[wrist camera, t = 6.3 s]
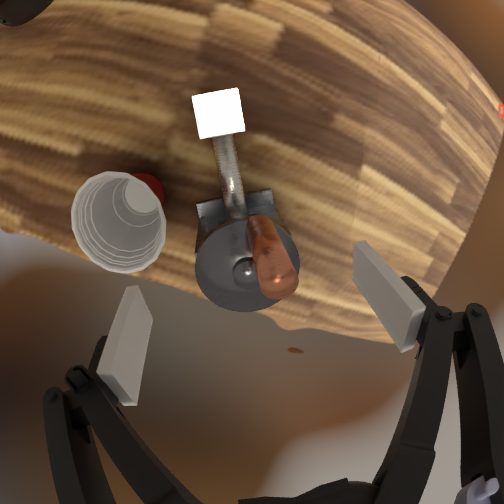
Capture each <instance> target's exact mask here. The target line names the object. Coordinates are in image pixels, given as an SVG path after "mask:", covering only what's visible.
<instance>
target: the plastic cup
mask: <svg viewBox="0 0 504 504" xmlns="http://www.w3.org/2000/svg"><path fill="white" fill-rule="evenodd" d="M164 201H165V198H164V190H163V187H162V184H161V183H160V182H159V181H158V179H157V178H156V177H154V176H152V175H150V174H147V173H137V174H135V173H133V174H128V173H122V172H110V171H106V172H103V173H101V174H98V175H96V176H94V177H91V178H89V179H88V180H87V181H86V182H85V183H84V185H83V186H82V187H81V188H80V189H79V190H78V191H77V193H76V196H75V199H74V202H73V206H72V209H71V217H72V230H73V232H74V235H75V237H76V239H77V242H78V244H79V247H80V248H81V249H82V250H83V251H84V253H85V254H86V255H87V256H88V257H89V258H90V259H91V261H92V262H94V263H96V264H98V265H99V266H101V267H103V268H104V269H106V270H108V271H113V272H118V273H124V274H127V273H131V272H136V271H140V270H143V269H145V268H146V267H147V266H148V265H150V264H151V263H152V262H154V261H155V260H156V259H157V257H158V255H159V253H160V251H161V250H162V248H163V246H164V244H165V236H166V218H165V215H164Z"/></svg>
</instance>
